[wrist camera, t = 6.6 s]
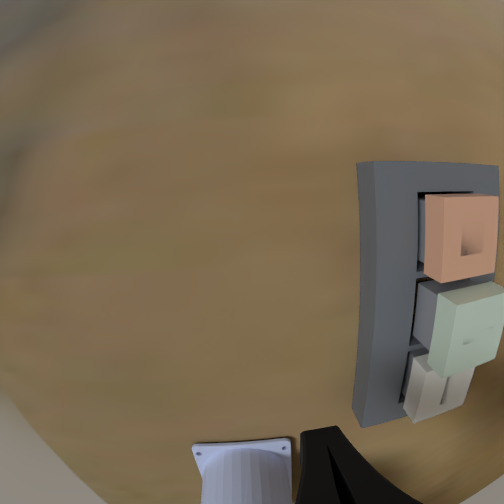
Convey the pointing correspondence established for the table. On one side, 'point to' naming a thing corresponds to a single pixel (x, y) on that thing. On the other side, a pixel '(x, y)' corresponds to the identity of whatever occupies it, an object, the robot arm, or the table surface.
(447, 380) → the ivory key
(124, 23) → the table surface
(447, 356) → the sage key
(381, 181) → the keypad plate
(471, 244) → the terracotta key
